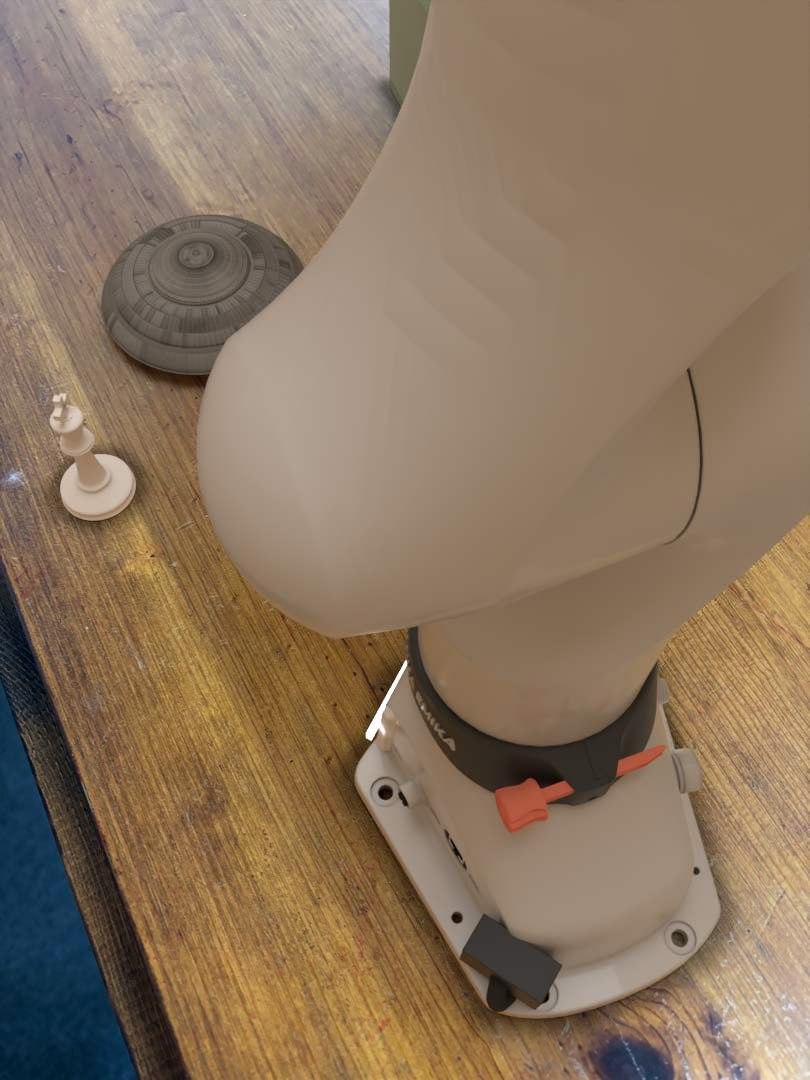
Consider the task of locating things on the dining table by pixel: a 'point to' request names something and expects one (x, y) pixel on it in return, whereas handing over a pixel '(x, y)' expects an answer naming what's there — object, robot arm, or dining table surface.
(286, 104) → the dining table surface
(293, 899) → the dining table surface
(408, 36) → the bin
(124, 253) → the flying saucer
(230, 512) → the robot arm
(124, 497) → the chess piece
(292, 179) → the dining table surface
